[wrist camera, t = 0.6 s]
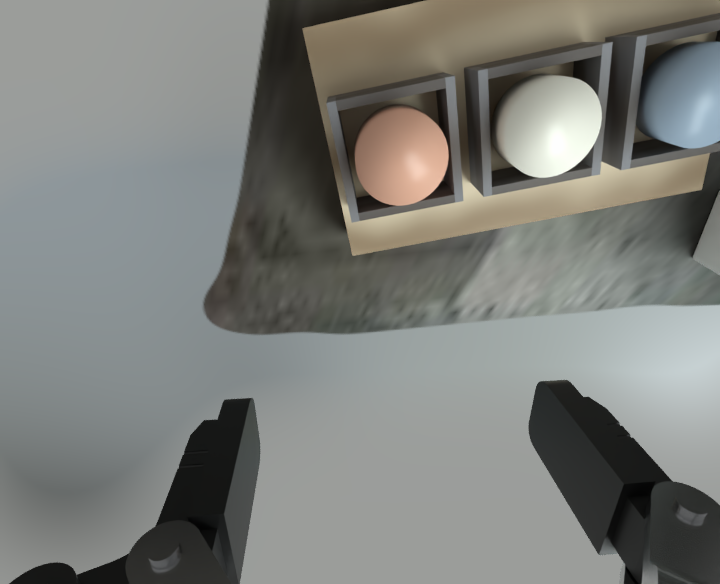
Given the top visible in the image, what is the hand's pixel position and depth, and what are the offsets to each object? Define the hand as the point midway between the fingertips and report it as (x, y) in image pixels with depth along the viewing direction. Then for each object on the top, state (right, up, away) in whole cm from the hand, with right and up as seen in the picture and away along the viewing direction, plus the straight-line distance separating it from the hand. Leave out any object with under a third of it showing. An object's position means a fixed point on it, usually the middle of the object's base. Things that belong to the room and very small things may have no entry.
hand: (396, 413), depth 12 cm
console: (+9, +16, +17) cm, 25 cm away
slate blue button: (+17, +15, +12) cm, 25 cm away
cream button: (+9, +13, +12) cm, 20 cm away
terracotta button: (+1, +12, +13) cm, 17 cm away
